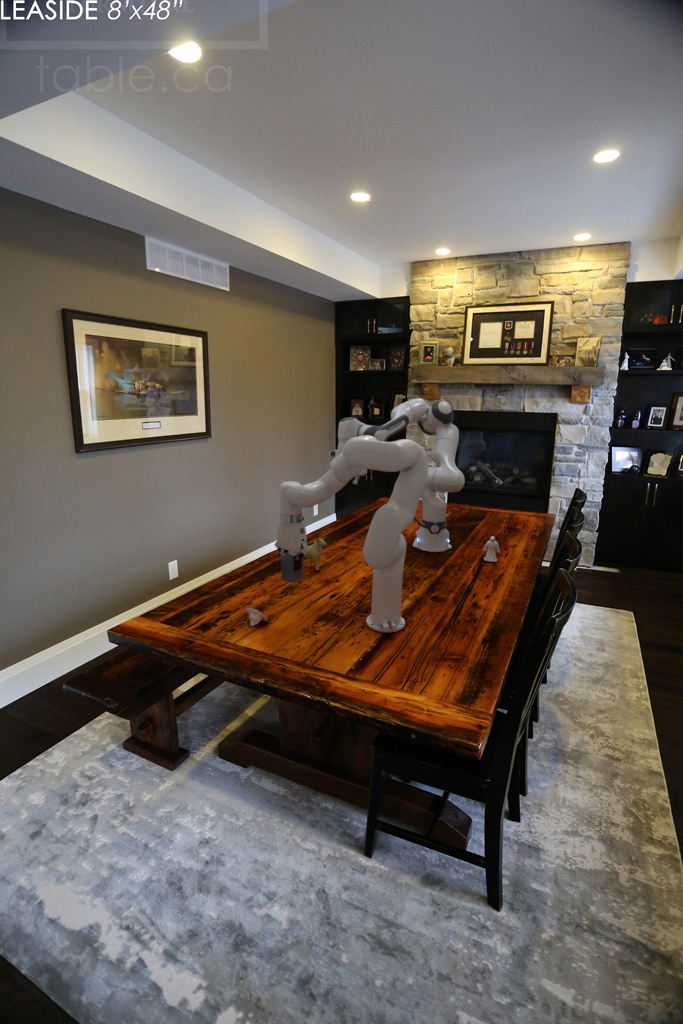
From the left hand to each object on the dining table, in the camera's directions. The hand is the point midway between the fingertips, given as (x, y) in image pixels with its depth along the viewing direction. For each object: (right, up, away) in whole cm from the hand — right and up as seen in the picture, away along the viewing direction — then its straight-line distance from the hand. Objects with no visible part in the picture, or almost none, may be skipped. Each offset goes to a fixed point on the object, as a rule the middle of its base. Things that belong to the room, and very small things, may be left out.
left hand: (291, 567), depth 175 cm
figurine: (+85, -2, +50) cm, 98 cm away
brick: (0, -4, +1) cm, 4 cm away
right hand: (+20, +33, +58) cm, 69 cm away
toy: (+3, -5, +35) cm, 36 cm away
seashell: (-10, -17, -14) cm, 24 cm away
